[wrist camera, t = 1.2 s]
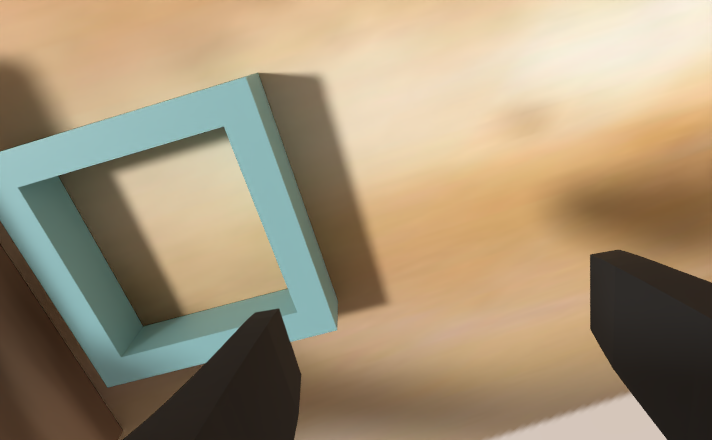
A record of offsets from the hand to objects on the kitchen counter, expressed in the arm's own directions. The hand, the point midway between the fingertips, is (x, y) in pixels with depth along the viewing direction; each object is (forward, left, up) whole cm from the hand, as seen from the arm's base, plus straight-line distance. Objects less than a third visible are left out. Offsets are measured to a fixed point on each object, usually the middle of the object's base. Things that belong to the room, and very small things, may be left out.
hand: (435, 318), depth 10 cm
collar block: (-10, 0, -11) cm, 15 cm away
